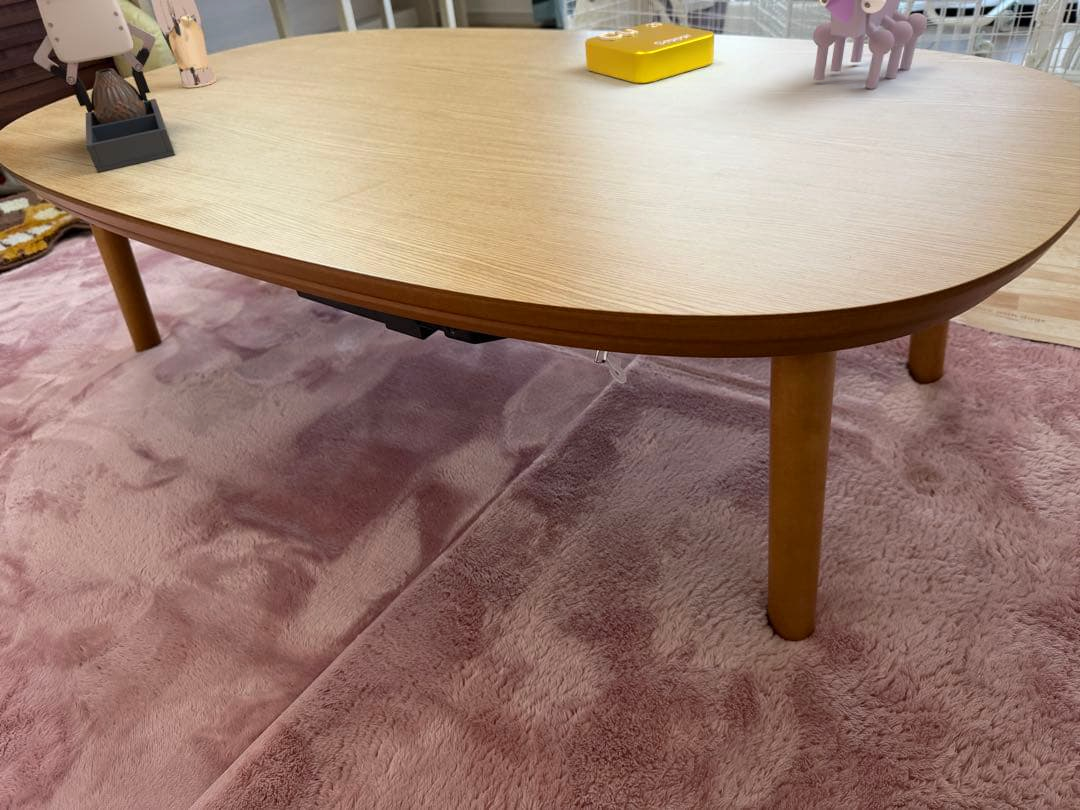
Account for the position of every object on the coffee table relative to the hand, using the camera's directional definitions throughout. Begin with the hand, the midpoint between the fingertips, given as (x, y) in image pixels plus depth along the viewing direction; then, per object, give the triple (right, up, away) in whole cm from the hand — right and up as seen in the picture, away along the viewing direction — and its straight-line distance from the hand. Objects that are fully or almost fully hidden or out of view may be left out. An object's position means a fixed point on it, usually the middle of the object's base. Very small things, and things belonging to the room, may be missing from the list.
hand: (117, 103), depth 117 cm
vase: (0, -3, +3) cm, 4 cm away
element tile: (+78, +8, +7) cm, 79 cm away
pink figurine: (+103, -1, -10) cm, 104 cm away
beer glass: (0, +14, +27) cm, 31 cm away
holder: (+3, -6, -1) cm, 7 cm away
